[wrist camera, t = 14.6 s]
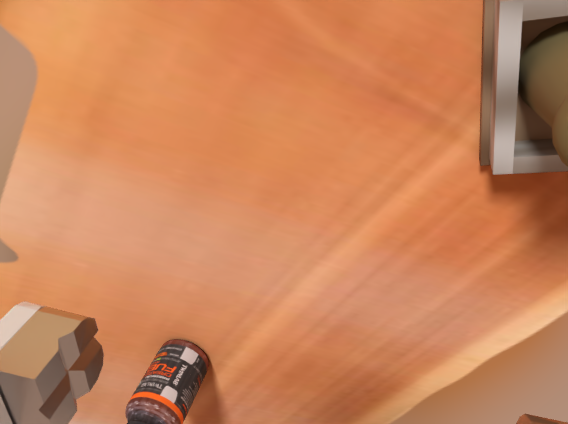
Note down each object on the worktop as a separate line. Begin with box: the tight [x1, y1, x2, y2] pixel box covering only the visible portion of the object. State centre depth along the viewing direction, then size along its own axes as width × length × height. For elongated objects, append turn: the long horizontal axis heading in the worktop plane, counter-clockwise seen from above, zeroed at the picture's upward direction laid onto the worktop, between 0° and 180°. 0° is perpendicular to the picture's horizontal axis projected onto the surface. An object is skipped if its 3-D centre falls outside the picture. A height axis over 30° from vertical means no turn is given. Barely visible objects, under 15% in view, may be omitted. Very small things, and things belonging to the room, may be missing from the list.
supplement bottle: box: [126, 339, 209, 424], centre depth 52 cm, size 6×6×11 cm
